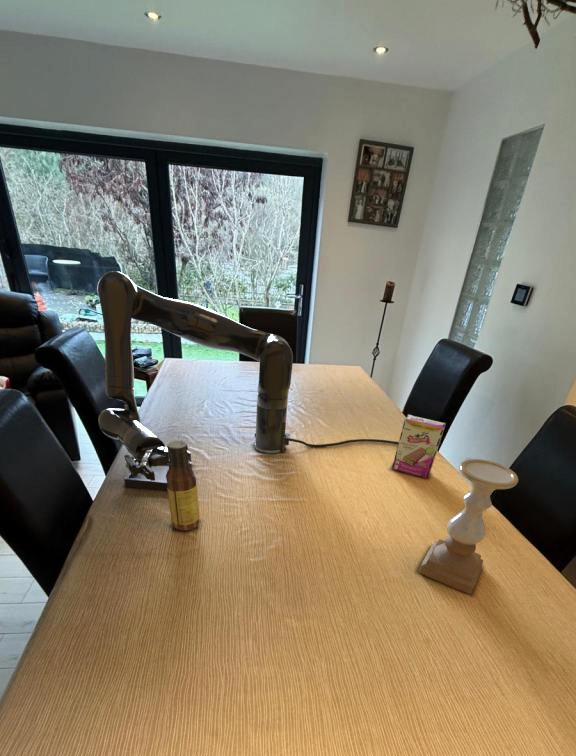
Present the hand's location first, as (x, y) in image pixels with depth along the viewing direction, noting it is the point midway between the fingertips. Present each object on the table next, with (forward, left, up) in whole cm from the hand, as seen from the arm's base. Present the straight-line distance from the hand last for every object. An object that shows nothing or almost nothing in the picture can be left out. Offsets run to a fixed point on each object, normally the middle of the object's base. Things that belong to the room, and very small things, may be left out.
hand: (171, 472), depth 92 cm
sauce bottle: (-3, +4, -11) cm, 12 cm away
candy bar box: (-63, -33, -11) cm, 72 cm away
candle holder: (-62, +12, -11) cm, 64 cm away
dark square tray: (+9, -17, -11) cm, 22 cm away
